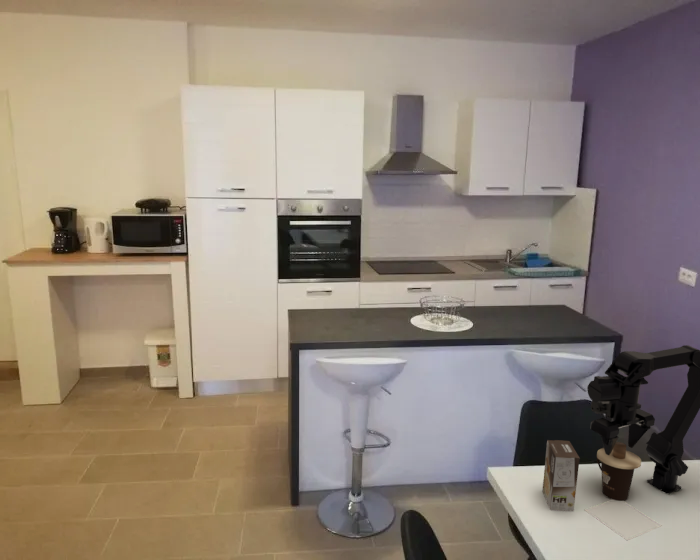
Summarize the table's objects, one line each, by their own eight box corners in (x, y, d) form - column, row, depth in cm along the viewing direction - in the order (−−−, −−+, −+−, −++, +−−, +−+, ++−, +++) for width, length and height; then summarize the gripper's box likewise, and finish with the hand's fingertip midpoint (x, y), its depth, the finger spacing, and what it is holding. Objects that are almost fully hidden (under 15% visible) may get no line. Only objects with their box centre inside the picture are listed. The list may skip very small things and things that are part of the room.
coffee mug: (636, 504, 146) (639, 469, 144) (602, 500, 148) (605, 466, 146) (624, 483, 157) (626, 450, 156) (592, 480, 159) (595, 447, 157)
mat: (617, 498, 150) (617, 497, 149) (661, 527, 138) (661, 525, 138) (583, 511, 144) (584, 509, 144) (626, 541, 133) (627, 540, 132)
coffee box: (574, 513, 143) (581, 458, 140) (549, 511, 144) (555, 457, 140) (564, 492, 152) (570, 440, 149) (540, 490, 153) (546, 439, 149)
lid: (614, 448, 157) (616, 433, 157) (650, 464, 148) (651, 448, 147) (588, 455, 153) (589, 440, 152) (622, 472, 143) (624, 456, 142)
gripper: (623, 382, 157) (617, 430, 161) (577, 393, 149) (571, 444, 153) (659, 397, 147) (651, 448, 151) (612, 409, 139) (604, 464, 143)
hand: (619, 450), depth 149 cm, fingers open, 9 cm apart
